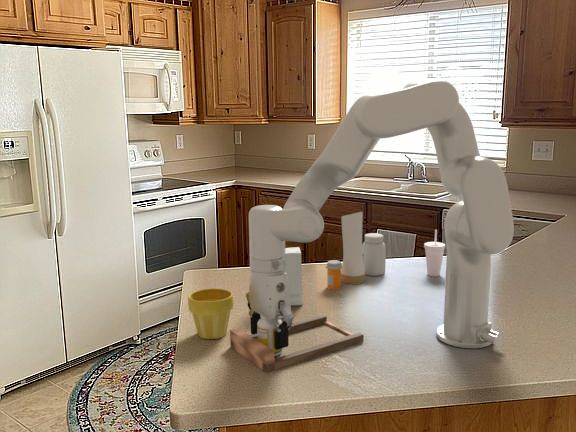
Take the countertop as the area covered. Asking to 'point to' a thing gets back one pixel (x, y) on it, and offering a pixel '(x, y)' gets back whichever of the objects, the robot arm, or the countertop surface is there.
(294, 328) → the frame
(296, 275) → the skincare box
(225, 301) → the plant pot
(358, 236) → the toiletry set
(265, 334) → the supplement bottle
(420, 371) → the countertop surface
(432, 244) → the smoothie
